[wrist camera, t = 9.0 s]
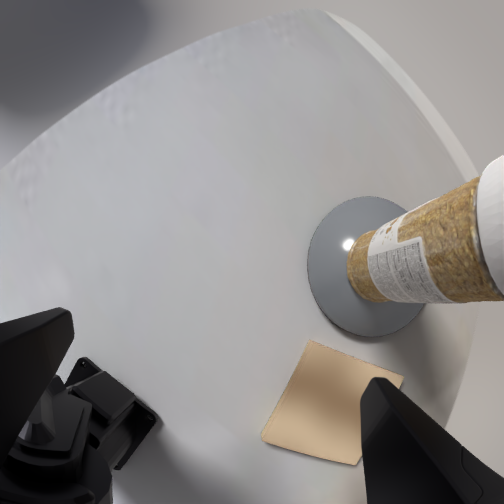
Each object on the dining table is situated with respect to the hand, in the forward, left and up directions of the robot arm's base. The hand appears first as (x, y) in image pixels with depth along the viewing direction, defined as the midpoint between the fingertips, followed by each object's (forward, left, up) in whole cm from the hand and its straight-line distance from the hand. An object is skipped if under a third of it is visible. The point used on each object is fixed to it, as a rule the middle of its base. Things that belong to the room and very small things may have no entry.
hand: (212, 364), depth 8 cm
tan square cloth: (-1, -9, -10) cm, 13 cm away
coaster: (+8, -6, -10) cm, 14 cm away
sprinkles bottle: (+8, -6, -10) cm, 14 cm away
